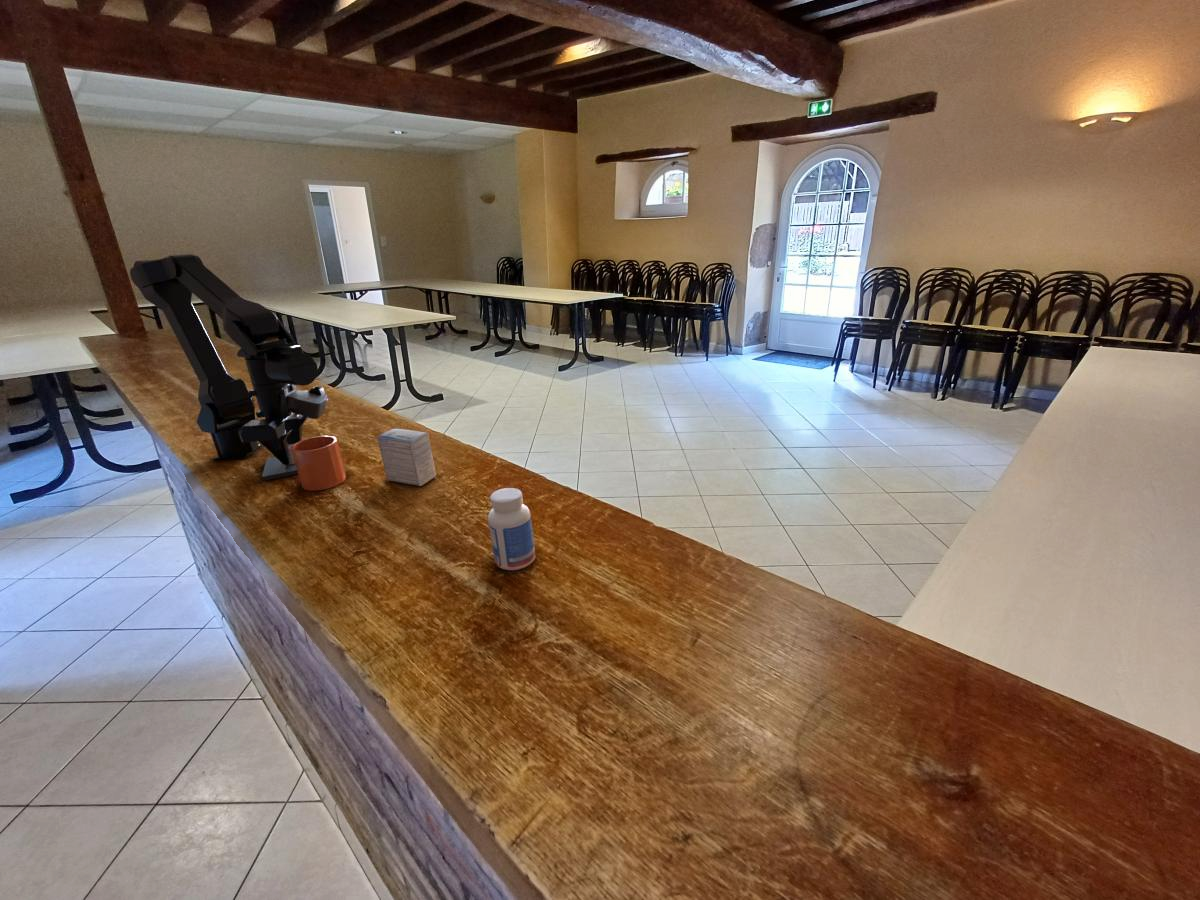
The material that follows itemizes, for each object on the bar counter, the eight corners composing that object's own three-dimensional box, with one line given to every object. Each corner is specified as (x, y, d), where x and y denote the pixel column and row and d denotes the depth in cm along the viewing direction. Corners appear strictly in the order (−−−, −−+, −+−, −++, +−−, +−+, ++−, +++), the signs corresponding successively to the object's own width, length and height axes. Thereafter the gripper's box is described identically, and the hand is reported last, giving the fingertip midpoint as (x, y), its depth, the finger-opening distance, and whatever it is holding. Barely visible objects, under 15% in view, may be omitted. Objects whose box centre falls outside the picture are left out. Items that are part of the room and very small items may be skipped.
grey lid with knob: (262, 480, 101) (256, 461, 100) (267, 462, 110) (261, 443, 108) (322, 469, 105) (317, 449, 104) (322, 451, 114) (317, 433, 112)
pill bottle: (542, 551, 75) (535, 487, 71) (524, 574, 70) (516, 507, 67) (506, 546, 77) (498, 483, 73) (487, 568, 72) (476, 502, 68)
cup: (295, 492, 96) (283, 453, 93) (311, 474, 103) (301, 437, 100) (338, 488, 97) (327, 449, 94) (351, 471, 103) (342, 434, 101)
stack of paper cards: (437, 477, 99) (429, 432, 96) (420, 487, 96) (411, 441, 92) (403, 471, 103) (394, 427, 99) (386, 481, 99) (376, 436, 95)
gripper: (293, 392, 93) (316, 475, 99) (333, 365, 110) (350, 438, 116) (225, 397, 92) (252, 480, 98) (275, 369, 109) (296, 442, 115)
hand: (292, 458), depth 107 cm, fingers open, 5 cm apart
